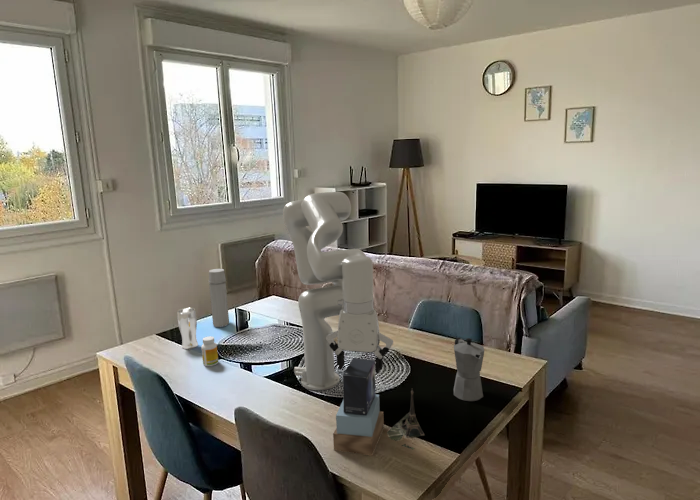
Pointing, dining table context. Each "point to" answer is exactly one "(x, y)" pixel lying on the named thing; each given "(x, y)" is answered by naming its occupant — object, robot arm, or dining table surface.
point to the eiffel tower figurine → (409, 430)
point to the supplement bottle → (209, 351)
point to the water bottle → (218, 297)
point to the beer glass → (188, 327)
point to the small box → (359, 386)
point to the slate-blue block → (358, 420)
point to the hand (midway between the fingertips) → (359, 369)
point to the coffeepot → (468, 370)
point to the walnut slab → (359, 440)
